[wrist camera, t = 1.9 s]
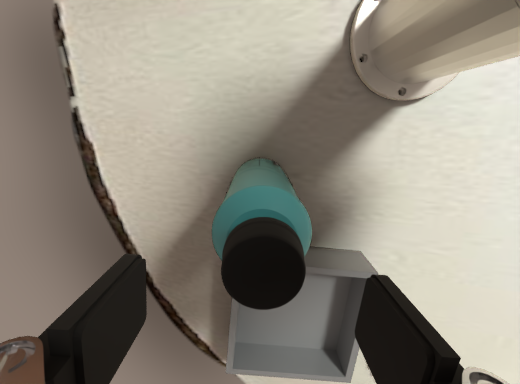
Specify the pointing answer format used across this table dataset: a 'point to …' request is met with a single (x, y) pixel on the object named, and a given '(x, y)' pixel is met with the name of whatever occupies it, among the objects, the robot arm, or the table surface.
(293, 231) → the beverage bottle
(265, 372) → the bin
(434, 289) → the table surface
